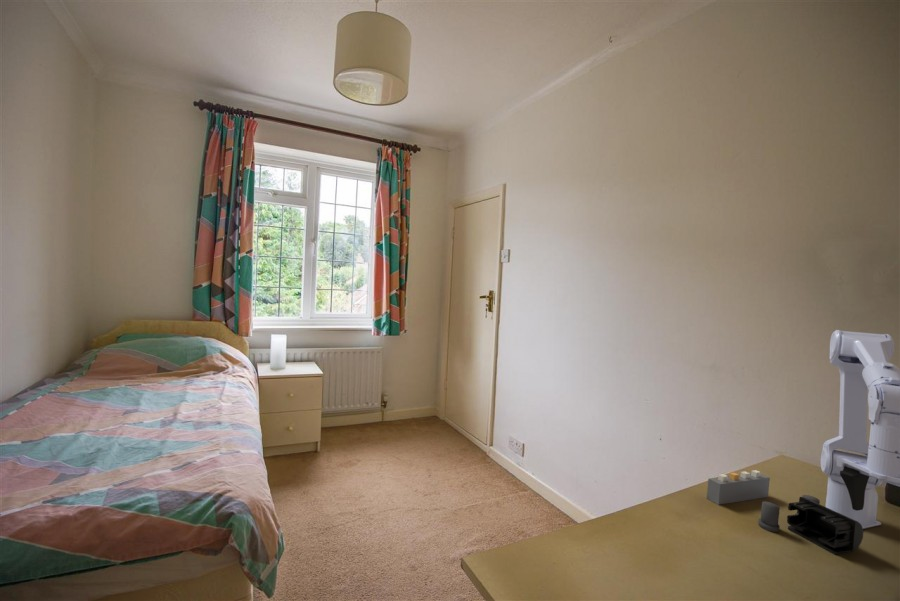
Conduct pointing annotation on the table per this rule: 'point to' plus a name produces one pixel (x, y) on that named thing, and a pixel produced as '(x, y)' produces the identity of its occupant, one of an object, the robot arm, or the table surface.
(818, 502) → the dark grey cylinder
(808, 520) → the end cap
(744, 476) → the breaker strip
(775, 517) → the gray rounded knob
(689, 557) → the table surface
